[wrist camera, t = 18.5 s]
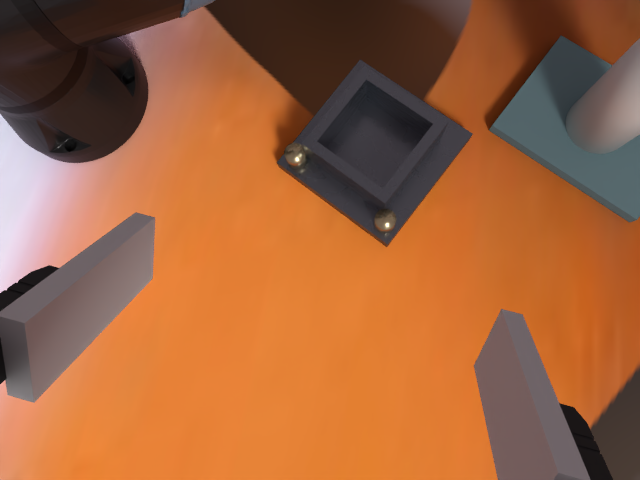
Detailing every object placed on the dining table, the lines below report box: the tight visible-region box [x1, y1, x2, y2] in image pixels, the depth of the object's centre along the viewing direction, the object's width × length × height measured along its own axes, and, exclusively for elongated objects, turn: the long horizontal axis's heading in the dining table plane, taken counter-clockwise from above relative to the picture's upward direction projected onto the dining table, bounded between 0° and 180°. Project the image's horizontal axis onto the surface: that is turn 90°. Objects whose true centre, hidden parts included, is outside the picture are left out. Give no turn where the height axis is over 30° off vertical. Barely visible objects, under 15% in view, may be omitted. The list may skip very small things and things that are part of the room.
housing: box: [277, 60, 472, 247], centre depth 45 cm, size 14×14×6 cm
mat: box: [489, 36, 640, 222], centre depth 45 cm, size 16×12×1 cm
